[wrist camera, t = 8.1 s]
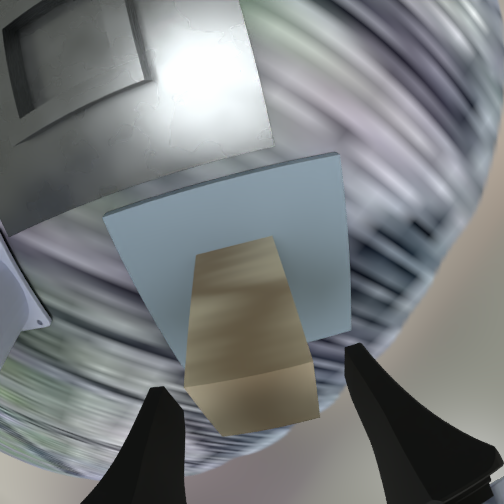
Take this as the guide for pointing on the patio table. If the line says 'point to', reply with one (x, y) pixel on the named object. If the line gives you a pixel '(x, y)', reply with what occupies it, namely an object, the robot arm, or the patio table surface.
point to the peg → (247, 342)
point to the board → (243, 241)
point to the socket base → (118, 98)
